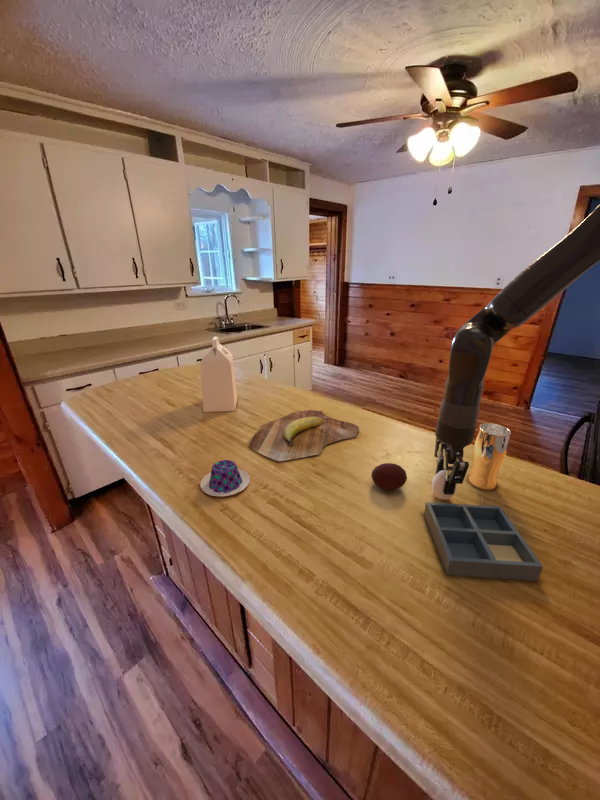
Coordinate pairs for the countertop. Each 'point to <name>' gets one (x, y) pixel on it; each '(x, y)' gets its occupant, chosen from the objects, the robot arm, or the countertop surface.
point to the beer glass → (489, 454)
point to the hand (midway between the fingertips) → (443, 485)
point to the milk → (218, 379)
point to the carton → (480, 542)
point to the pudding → (224, 479)
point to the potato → (389, 476)
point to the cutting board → (300, 435)
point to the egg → (440, 485)
